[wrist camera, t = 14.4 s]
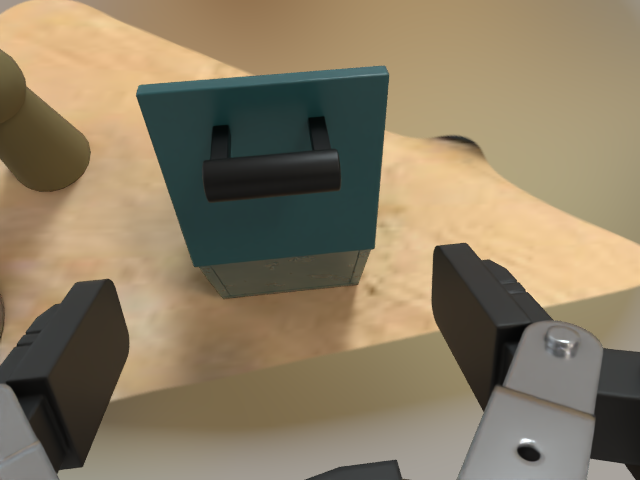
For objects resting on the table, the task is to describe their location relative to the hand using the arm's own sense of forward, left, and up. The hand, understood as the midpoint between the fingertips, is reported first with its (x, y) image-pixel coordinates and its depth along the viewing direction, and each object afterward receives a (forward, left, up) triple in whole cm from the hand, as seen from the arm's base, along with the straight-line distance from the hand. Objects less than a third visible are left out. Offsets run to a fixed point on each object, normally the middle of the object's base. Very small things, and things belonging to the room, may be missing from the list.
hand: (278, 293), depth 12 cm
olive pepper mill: (-18, +19, -23) cm, 35 cm away
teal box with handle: (0, +8, -9) cm, 12 cm away
